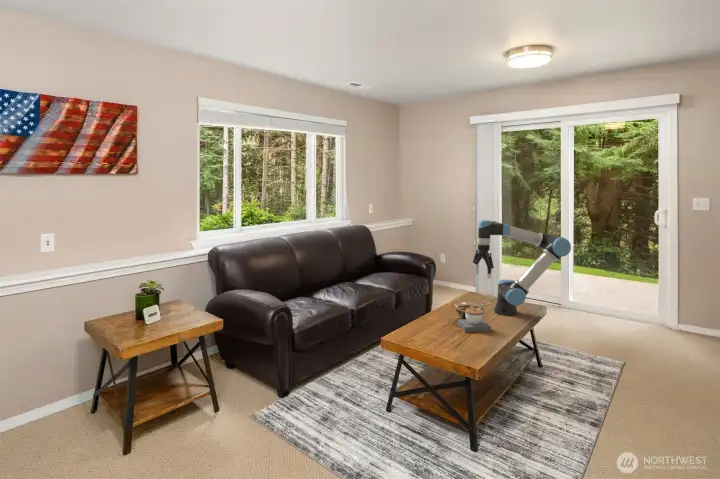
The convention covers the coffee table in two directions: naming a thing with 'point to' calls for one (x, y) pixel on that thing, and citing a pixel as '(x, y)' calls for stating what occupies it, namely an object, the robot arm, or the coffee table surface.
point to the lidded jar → (474, 315)
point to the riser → (473, 326)
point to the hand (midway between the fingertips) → (482, 276)
